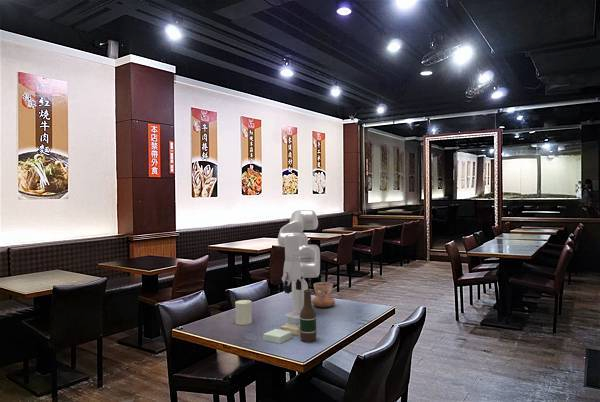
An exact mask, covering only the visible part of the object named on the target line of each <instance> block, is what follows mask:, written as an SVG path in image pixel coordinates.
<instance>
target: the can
mask: <svg viewBox="0 0 600 402" xmlns="http://www.w3.org/2000/svg"><path fill="white" fill-rule="evenodd" d="M234 303H235V321H234V322H235V323H234V324H235V325H238V326H239V325H240V326H244V325H245V326H247V325H250V324H252V323H253V317H252V312H253V311H252V307H253V306H252V300H249V299H241V300H240V299H239V300H236V301H235V302H234Z"/></svg>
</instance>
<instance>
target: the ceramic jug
mask: <svg viewBox="0 0 600 402" xmlns="http://www.w3.org/2000/svg"><path fill="white" fill-rule="evenodd" d="M333 286H334V284H333V283H331V282H325V281H324V282H315V283H313V289H314V291H315V294H316V296H314V297H313V299H312V298H311V302H312V306H314V307H317V308H321V309H323V308H324V309H325V308H330V307H332V306H334V305H335V304H336V300H335V299H334V298H333V297H332V296H331V293H332V290H333Z"/></svg>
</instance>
